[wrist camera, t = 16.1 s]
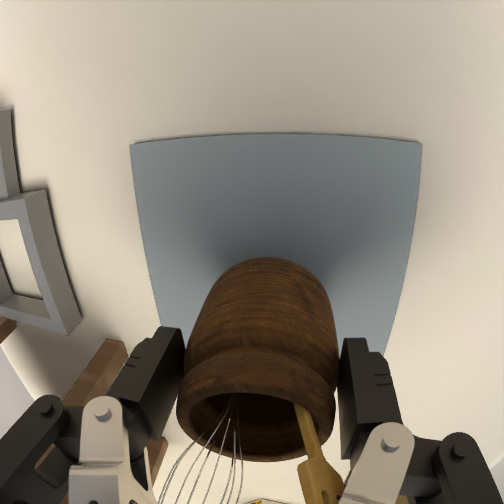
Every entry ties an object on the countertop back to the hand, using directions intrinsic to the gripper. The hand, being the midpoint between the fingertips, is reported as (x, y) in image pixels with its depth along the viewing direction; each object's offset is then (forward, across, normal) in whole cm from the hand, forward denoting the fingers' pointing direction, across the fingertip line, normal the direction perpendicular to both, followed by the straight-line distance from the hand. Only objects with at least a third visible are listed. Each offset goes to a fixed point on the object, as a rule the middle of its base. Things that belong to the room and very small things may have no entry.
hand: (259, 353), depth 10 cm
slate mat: (+6, 0, 0) cm, 6 cm away
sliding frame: (+6, +19, -3) cm, 20 cm away
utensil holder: (+4, 0, +1) cm, 5 cm away
